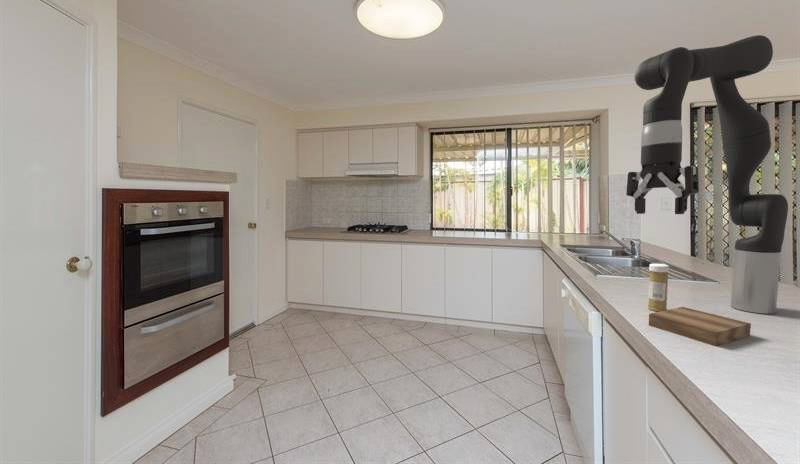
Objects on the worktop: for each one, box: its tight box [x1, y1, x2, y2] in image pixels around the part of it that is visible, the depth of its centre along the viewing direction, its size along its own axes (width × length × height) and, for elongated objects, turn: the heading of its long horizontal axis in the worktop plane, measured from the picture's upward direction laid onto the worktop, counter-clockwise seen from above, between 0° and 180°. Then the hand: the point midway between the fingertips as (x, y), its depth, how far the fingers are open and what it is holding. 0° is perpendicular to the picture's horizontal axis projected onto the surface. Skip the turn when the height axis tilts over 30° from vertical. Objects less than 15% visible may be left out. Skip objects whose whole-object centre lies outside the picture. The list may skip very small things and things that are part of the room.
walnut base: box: [648, 306, 752, 347], centre depth 84 cm, size 14×14×3 cm
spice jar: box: [647, 263, 670, 312], centre depth 99 cm, size 5×5×14 cm
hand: (659, 213), depth 80 cm, fingers open, 8 cm apart
